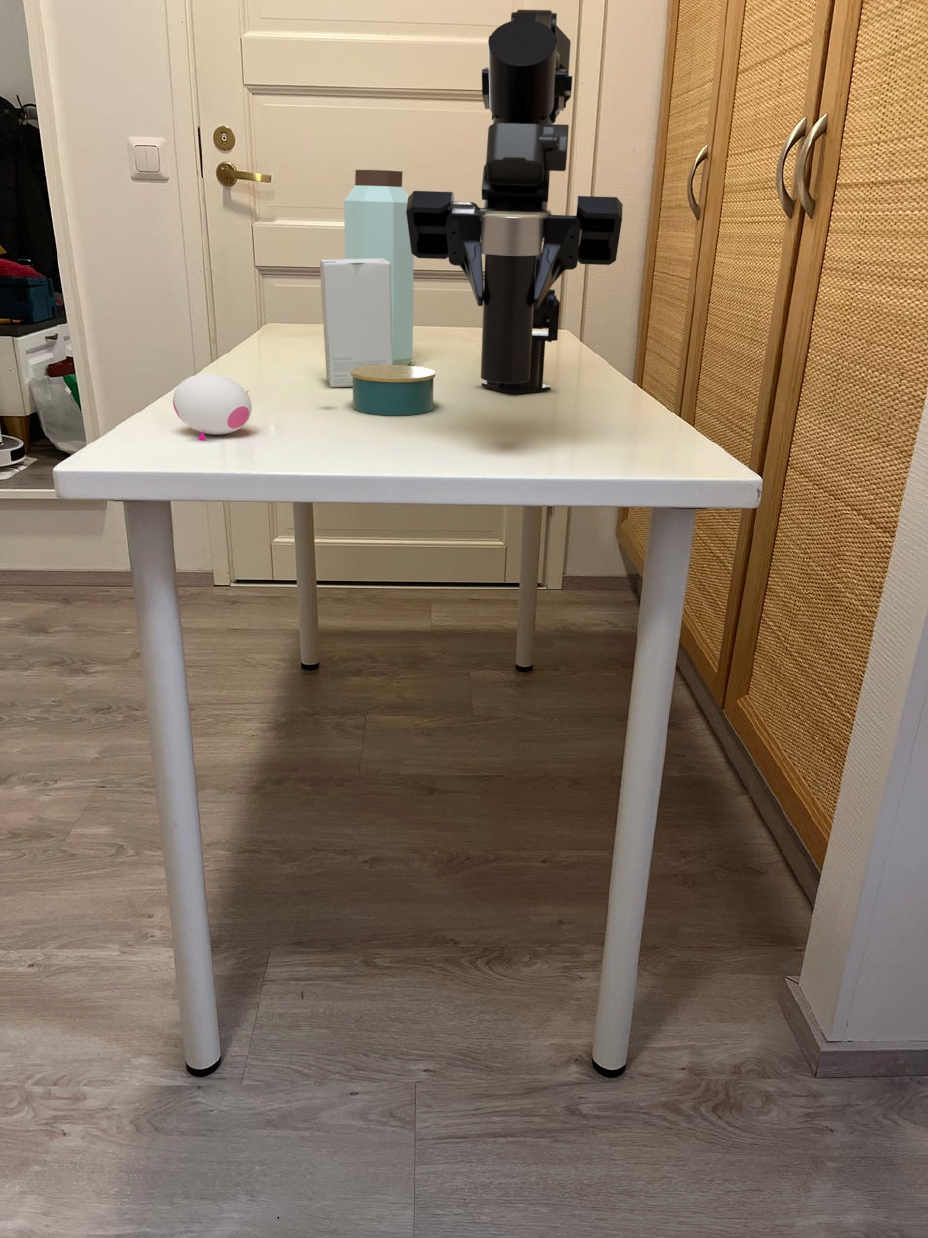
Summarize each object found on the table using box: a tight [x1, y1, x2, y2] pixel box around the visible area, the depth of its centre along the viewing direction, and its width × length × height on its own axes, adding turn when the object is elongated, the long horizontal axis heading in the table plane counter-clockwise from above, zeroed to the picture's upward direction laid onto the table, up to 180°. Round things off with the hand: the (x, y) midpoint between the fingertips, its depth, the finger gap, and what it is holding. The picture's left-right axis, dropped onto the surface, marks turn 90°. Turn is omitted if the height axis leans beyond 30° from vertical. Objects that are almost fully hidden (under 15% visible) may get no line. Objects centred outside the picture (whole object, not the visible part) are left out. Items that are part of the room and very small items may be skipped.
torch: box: [480, 214, 543, 383], centre depth 83 cm, size 5×5×14 cm
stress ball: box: [172, 373, 253, 441], centre depth 92 cm, size 8×8×7 cm
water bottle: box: [343, 169, 415, 366], centre depth 131 cm, size 10×10×25 cm
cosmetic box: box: [319, 258, 393, 388], centre depth 117 cm, size 8×6×15 cm
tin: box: [351, 365, 436, 417], centre depth 106 cm, size 9×9×4 cm
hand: (507, 303), depth 82 cm, fingers closed on torch, 4 cm apart
